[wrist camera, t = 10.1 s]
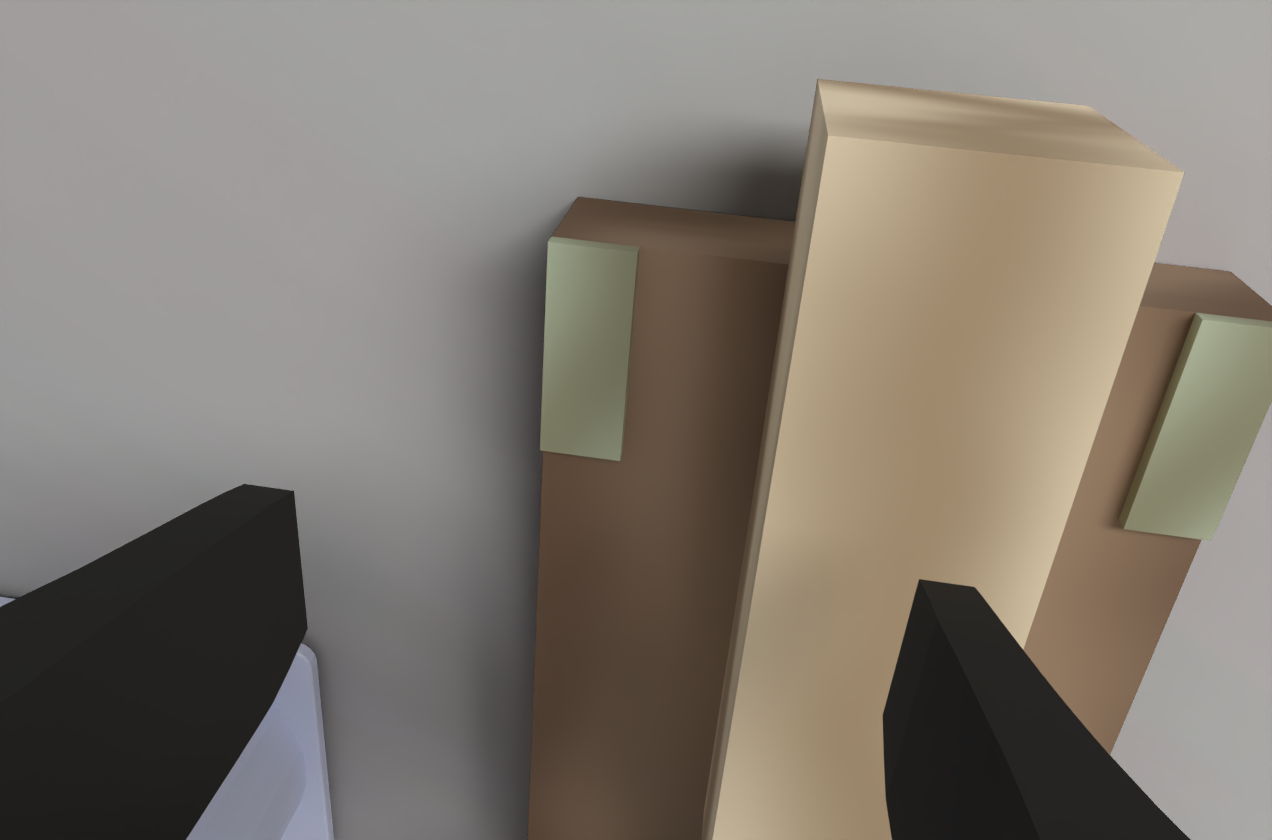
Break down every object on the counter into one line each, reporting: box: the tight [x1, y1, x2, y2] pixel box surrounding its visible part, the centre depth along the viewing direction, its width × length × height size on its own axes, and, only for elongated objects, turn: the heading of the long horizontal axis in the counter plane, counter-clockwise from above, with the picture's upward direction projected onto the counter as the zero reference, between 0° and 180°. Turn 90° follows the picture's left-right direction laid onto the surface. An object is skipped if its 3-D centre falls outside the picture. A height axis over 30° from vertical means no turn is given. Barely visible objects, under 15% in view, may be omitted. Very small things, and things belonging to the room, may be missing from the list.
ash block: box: [701, 79, 1185, 840], centre depth 17 cm, size 4×16×4 cm, turn 176°
